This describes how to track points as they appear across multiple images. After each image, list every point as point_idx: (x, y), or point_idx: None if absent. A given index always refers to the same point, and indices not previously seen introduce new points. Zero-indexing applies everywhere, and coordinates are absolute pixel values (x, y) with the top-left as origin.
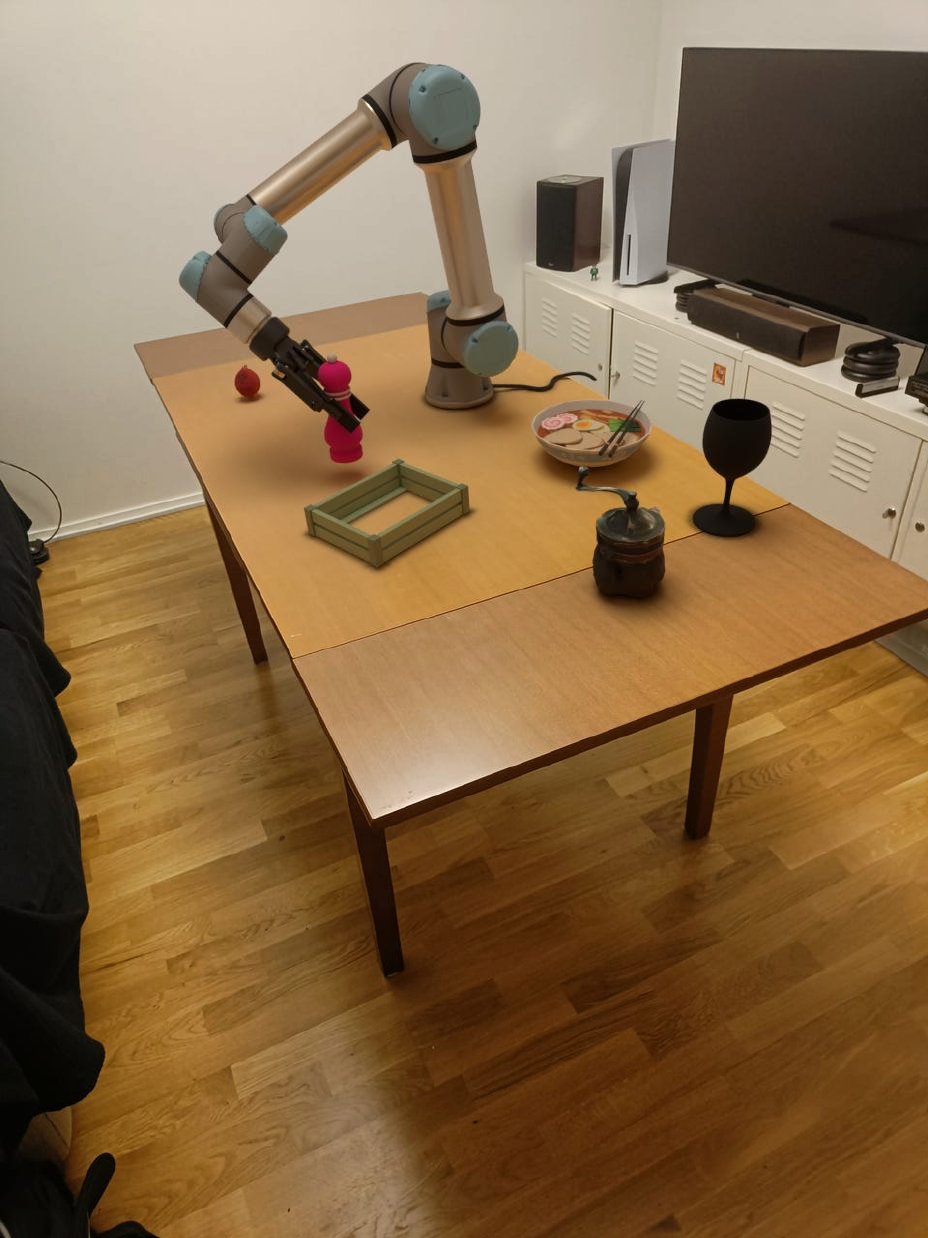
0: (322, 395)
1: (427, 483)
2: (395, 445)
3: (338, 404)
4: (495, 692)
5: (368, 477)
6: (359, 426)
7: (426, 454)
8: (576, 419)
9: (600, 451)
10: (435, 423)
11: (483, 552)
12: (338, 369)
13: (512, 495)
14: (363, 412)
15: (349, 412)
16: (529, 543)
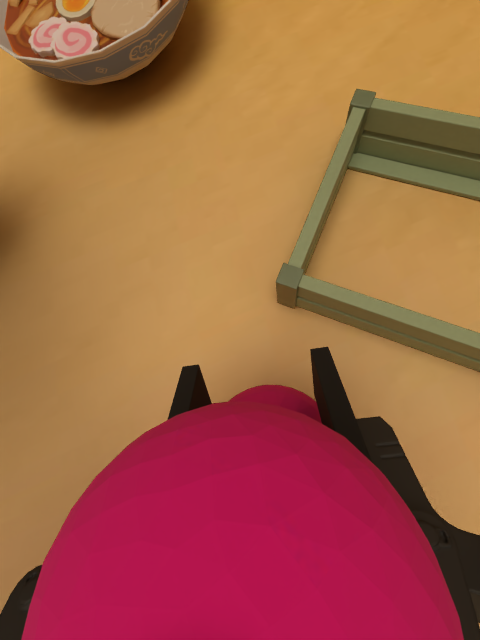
0: (467, 592)
1: (331, 199)
2: (112, 389)
3: (361, 452)
4: None
5: (394, 313)
6: (255, 391)
7: (144, 304)
8: (53, 18)
9: None
10: (6, 343)
11: (468, 69)
12: (351, 527)
13: (267, 103)
14: (203, 390)
15: (324, 394)
16: (409, 26)
